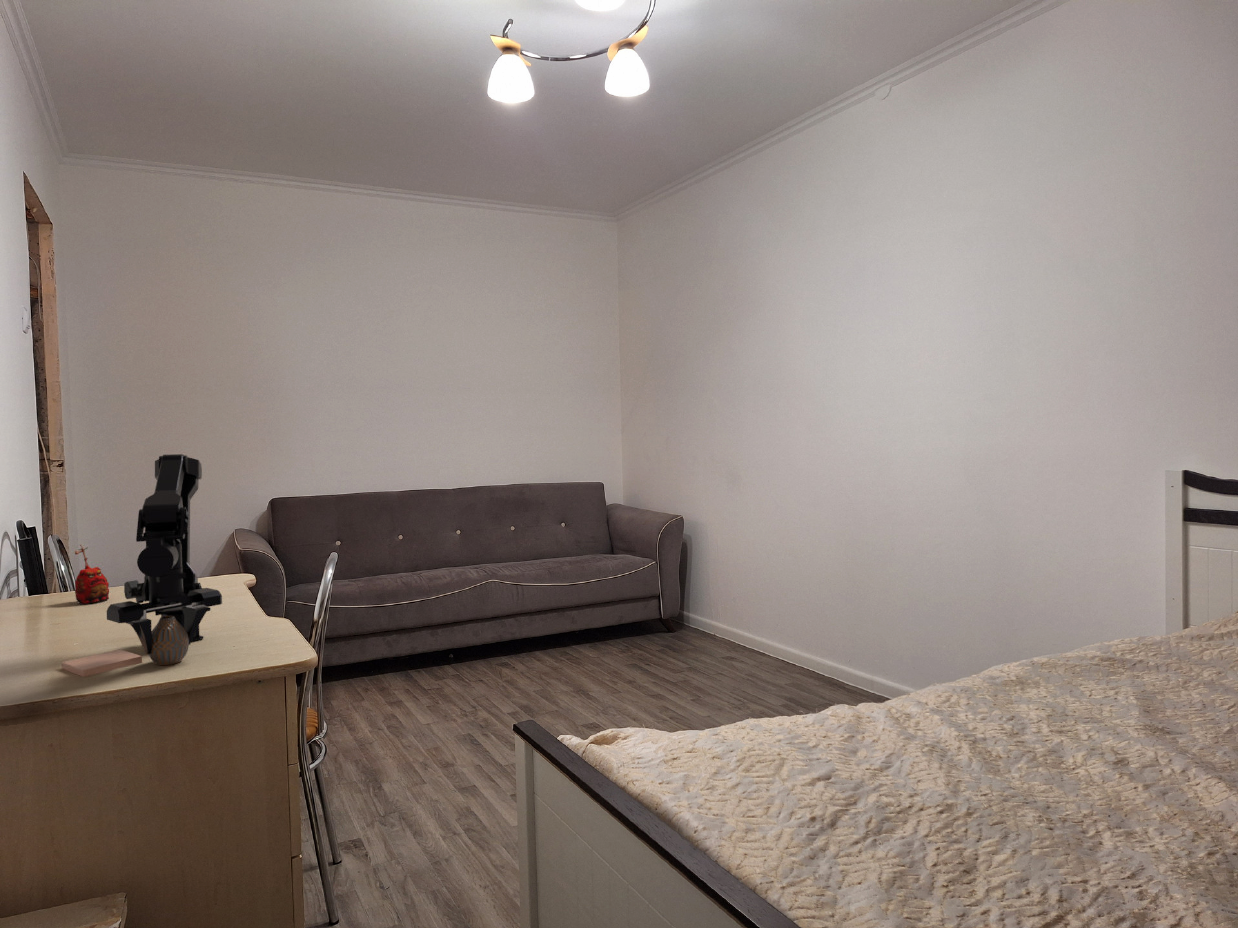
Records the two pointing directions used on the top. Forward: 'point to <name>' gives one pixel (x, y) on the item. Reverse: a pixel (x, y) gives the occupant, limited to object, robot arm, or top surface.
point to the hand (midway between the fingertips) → (168, 649)
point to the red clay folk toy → (90, 584)
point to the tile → (101, 662)
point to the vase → (168, 641)
